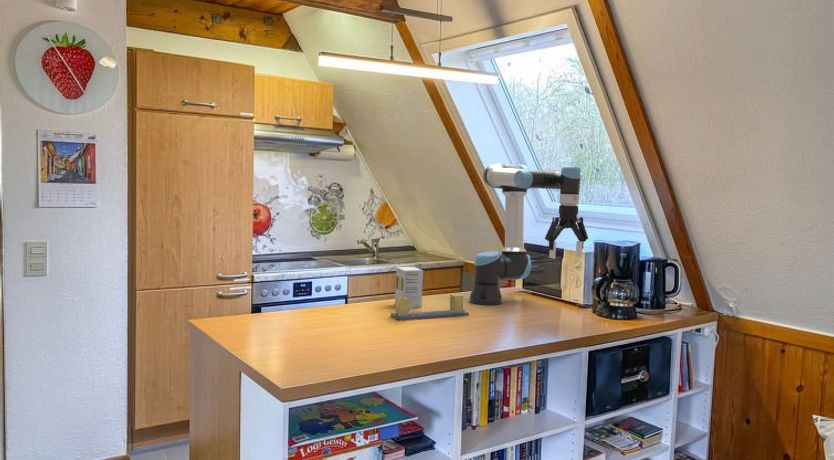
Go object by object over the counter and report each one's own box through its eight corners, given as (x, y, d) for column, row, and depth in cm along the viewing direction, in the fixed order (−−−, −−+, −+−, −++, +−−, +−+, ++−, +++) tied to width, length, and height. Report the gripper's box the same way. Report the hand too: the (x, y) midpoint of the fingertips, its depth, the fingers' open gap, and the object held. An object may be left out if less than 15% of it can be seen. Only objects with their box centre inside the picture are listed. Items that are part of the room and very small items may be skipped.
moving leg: (392, 312, 258) (393, 295, 258) (401, 312, 260) (402, 295, 259) (399, 316, 252) (400, 299, 251) (408, 315, 254) (409, 298, 253)
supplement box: (394, 304, 282) (395, 267, 281) (413, 303, 286) (414, 266, 285) (402, 308, 274) (404, 270, 272) (422, 307, 278) (423, 269, 276)
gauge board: (390, 316, 259) (391, 295, 258) (458, 311, 273) (459, 292, 272) (399, 320, 251) (399, 299, 250) (468, 315, 265) (469, 295, 264)
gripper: (550, 205, 243) (546, 259, 245) (599, 205, 255) (595, 257, 257) (537, 204, 250) (534, 257, 252) (586, 204, 261) (582, 255, 263)
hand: (565, 257), depth 254 cm, fingers open, 13 cm apart
